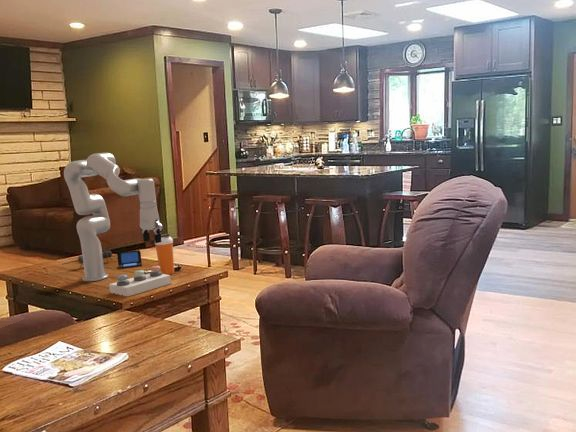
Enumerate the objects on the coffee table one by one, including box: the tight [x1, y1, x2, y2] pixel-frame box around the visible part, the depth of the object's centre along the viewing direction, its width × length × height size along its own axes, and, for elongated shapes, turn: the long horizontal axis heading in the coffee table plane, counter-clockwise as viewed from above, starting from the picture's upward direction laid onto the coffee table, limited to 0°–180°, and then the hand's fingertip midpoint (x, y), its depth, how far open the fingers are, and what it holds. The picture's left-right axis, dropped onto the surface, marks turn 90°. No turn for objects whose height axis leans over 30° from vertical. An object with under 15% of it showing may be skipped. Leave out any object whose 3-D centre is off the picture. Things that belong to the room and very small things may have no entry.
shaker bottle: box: [154, 233, 175, 276], centre depth 305 cm, size 9×9×20 cm
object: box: [116, 249, 143, 270], centre depth 332 cm, size 12×11×7 cm
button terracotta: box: [150, 265, 160, 272], centre depth 287 cm, size 4×4×2 cm
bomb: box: [63, 245, 116, 268], centre depth 338 cm, size 11×10×30 cm
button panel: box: [108, 270, 172, 297], centre depth 281 cm, size 14×24×5 cm, turn 138°
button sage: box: [134, 269, 145, 277], centre depth 280 cm, size 4×4×2 cm
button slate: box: [117, 274, 129, 282], centre depth 274 cm, size 4×4×2 cm
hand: (152, 241), depth 285 cm, fingers open, 8 cm apart
